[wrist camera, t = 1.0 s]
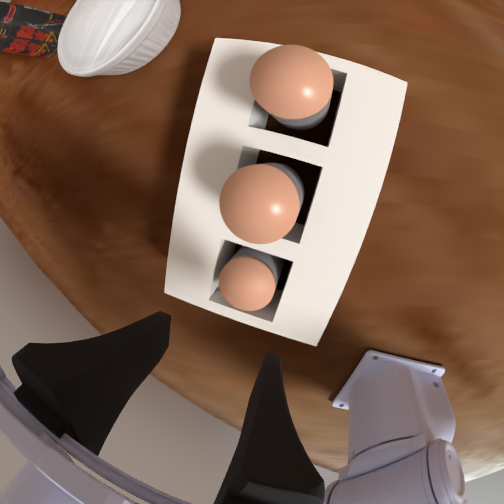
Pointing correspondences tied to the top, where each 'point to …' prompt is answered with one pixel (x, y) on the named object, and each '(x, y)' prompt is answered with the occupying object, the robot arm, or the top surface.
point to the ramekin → (115, 35)
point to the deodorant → (29, 30)
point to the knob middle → (261, 202)
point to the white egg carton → (300, 236)
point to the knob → (293, 86)
